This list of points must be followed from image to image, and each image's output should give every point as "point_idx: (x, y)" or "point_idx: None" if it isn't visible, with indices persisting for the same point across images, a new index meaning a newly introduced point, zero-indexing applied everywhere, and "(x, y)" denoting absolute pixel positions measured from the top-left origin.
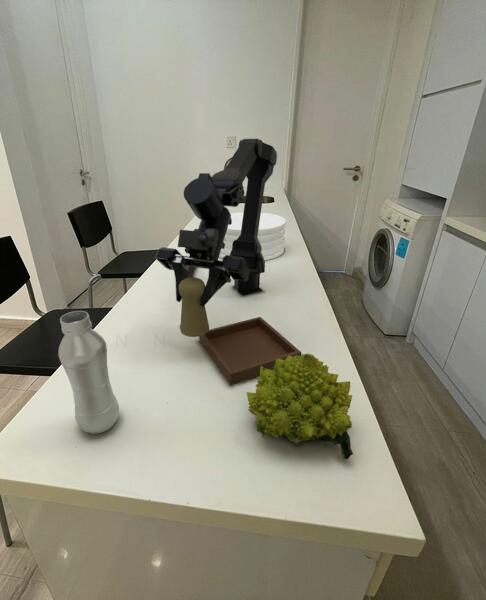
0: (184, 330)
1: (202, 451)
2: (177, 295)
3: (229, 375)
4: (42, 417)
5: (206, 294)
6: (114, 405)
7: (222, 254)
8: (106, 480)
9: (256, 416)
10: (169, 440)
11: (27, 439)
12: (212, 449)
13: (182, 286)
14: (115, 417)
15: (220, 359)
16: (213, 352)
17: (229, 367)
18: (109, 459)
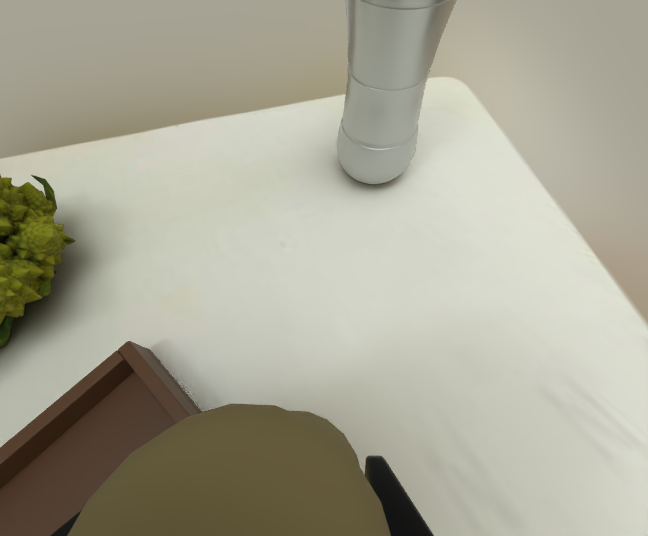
0: (312, 416)
1: (176, 183)
2: (386, 485)
3: (136, 346)
4: (474, 144)
5: (61, 533)
6: (341, 136)
7: None
8: (293, 113)
9: (35, 188)
10: (237, 180)
11: (450, 114)
12: (160, 190)
13: (288, 436)
14: (337, 150)
15: (170, 398)
16: None
17: (134, 368)
18: (310, 131)
